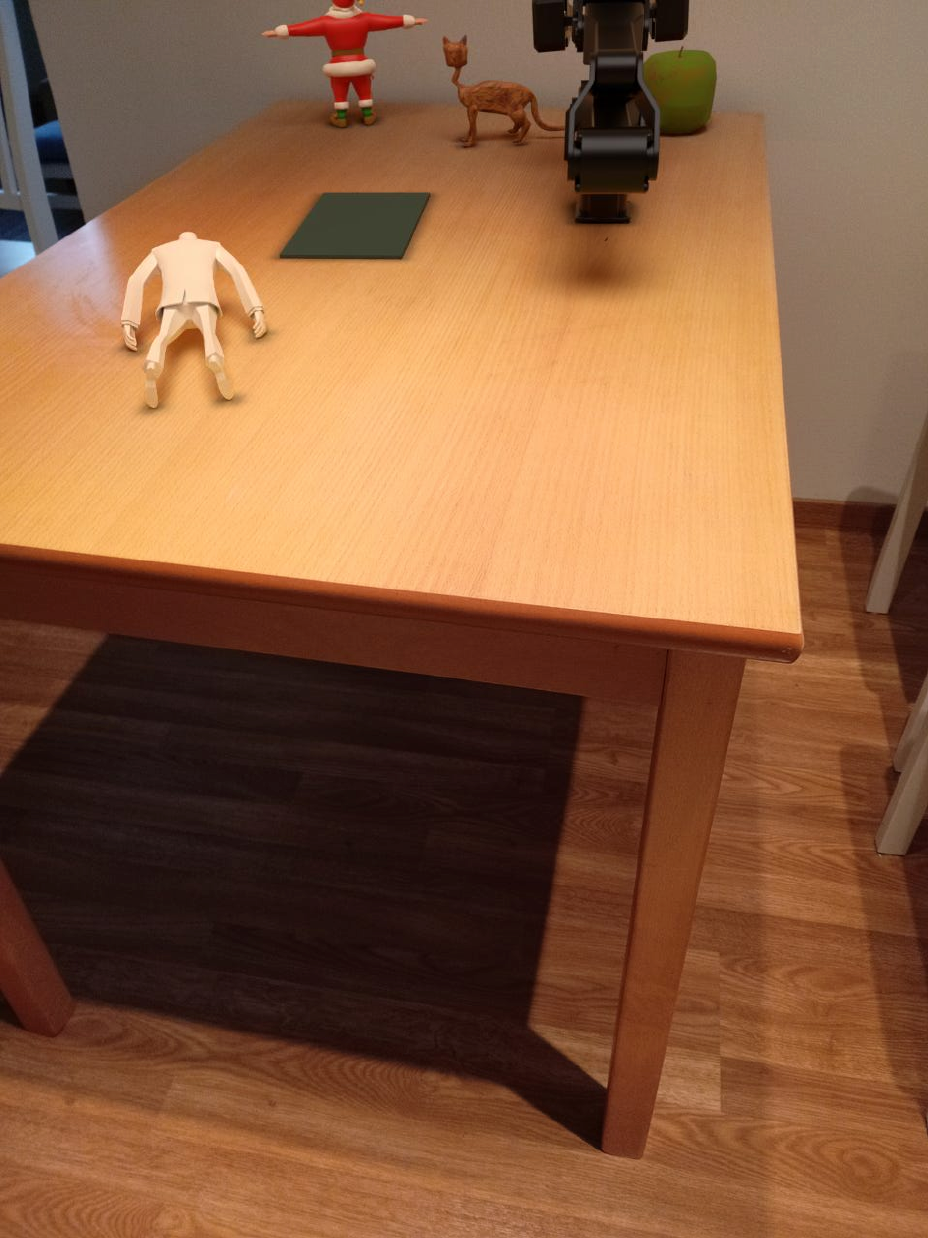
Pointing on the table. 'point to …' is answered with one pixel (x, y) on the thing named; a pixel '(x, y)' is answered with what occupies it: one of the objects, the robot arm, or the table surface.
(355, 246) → the mat
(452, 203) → the table surface
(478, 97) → the cat figurine
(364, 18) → the santa figurine
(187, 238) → the male figurine
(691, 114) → the apple
